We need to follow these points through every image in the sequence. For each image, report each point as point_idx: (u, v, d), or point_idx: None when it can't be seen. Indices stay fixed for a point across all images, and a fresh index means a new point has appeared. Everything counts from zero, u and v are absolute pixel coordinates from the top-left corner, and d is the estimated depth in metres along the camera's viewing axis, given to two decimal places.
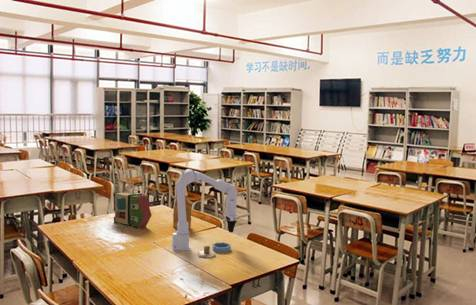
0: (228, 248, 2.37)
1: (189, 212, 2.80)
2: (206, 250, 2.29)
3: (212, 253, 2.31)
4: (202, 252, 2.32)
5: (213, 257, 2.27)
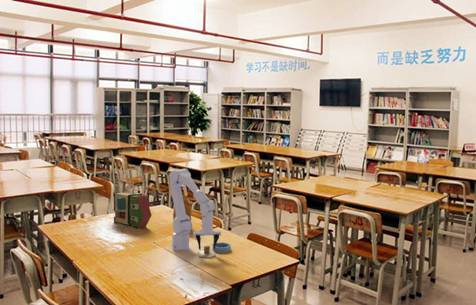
0: (228, 248, 2.37)
1: (189, 212, 2.80)
2: (206, 250, 2.29)
3: (212, 253, 2.31)
4: (202, 252, 2.32)
5: (213, 257, 2.27)
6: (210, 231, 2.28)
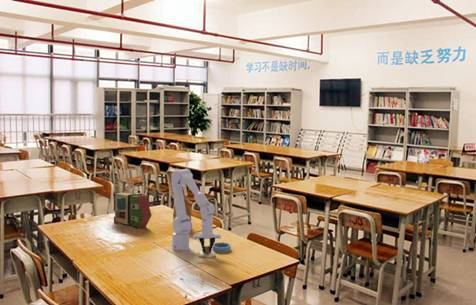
0: (228, 248, 2.37)
1: (189, 212, 2.80)
2: (206, 250, 2.29)
3: (212, 253, 2.31)
4: (202, 252, 2.32)
5: (213, 257, 2.27)
6: (210, 234, 2.28)
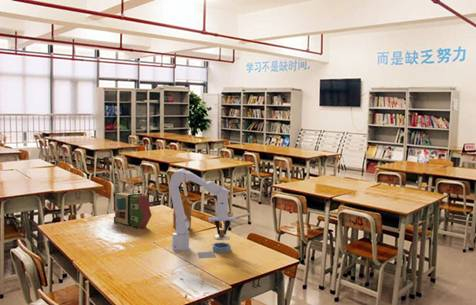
0: (228, 248, 2.37)
1: (189, 212, 2.80)
2: (221, 233, 2.37)
3: (227, 236, 2.38)
4: (217, 235, 2.40)
5: (213, 257, 2.27)
6: (225, 217, 2.36)
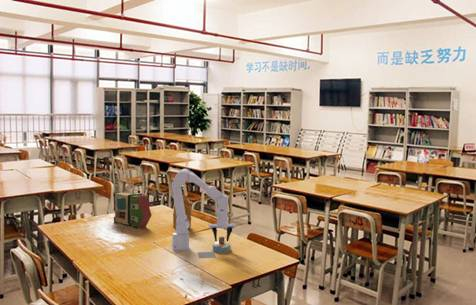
0: (228, 248, 2.37)
1: (189, 212, 2.80)
2: (221, 241, 2.38)
3: (227, 244, 2.39)
4: (217, 242, 2.40)
5: (213, 257, 2.27)
6: (225, 224, 2.36)
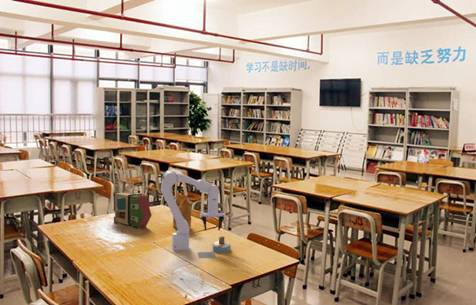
0: (228, 248, 2.37)
1: (189, 212, 2.80)
2: (221, 241, 2.38)
3: (227, 244, 2.39)
4: (217, 242, 2.40)
5: (213, 257, 2.27)
6: (215, 213, 2.42)
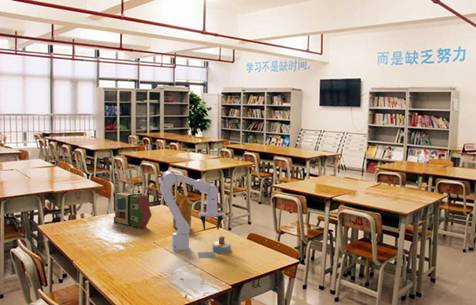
0: (228, 248, 2.37)
1: (189, 212, 2.80)
2: (221, 241, 2.38)
3: (227, 244, 2.39)
4: (217, 242, 2.40)
5: (213, 257, 2.27)
6: (214, 212, 2.42)
